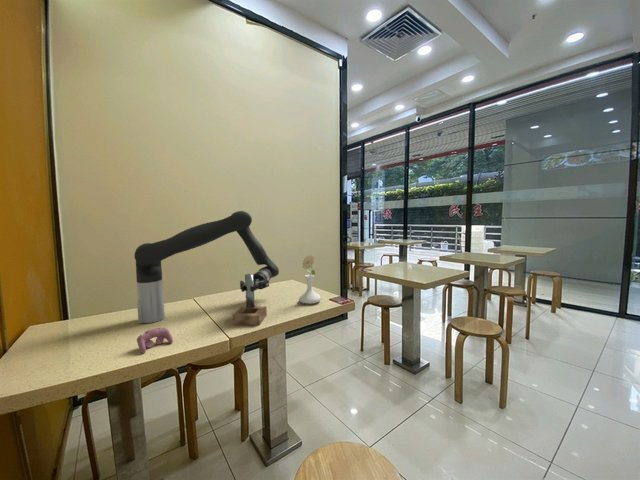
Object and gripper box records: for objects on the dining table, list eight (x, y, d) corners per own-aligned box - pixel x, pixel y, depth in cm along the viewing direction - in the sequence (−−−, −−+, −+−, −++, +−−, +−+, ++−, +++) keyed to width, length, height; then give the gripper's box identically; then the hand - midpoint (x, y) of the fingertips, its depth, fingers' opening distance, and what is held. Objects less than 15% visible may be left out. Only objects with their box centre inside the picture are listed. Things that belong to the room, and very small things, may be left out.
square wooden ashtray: (232, 324, 106) (232, 315, 106) (242, 315, 117) (242, 306, 117) (259, 325, 105) (259, 315, 105) (266, 315, 116) (266, 306, 116)
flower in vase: (296, 300, 138) (295, 253, 136) (317, 297, 141) (316, 252, 139) (302, 307, 125) (301, 256, 123) (325, 305, 129) (324, 255, 127)
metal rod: (247, 308, 109) (245, 275, 107) (245, 306, 112) (244, 274, 111) (255, 307, 110) (254, 274, 109) (253, 304, 113) (252, 273, 112)
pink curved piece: (170, 344, 94) (165, 325, 95) (174, 342, 91) (169, 322, 92) (138, 356, 86) (133, 335, 87) (142, 353, 83) (137, 332, 85)
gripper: (244, 271, 125) (230, 280, 107) (274, 271, 124) (263, 280, 107) (245, 287, 125) (231, 298, 108) (274, 287, 124) (264, 298, 107)
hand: (247, 289), depth 107 cm, fingers closed on metal rod, 3 cm apart
